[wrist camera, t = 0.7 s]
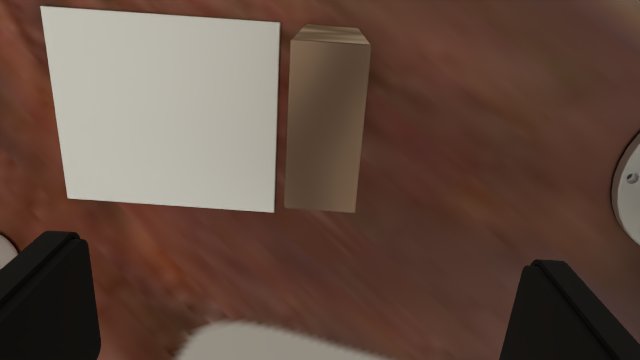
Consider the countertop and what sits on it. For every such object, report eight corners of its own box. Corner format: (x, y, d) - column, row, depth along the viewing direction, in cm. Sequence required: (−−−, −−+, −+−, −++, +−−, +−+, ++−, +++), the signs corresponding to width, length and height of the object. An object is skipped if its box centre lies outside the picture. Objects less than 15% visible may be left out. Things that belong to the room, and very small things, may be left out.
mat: (280, 22, 32) (279, 22, 32) (274, 209, 37) (273, 212, 37) (45, 6, 32) (40, 6, 32) (71, 195, 37) (67, 198, 37)
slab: (357, 27, 32) (371, 45, 21) (347, 140, 35) (354, 212, 23) (306, 23, 32) (290, 40, 21) (300, 137, 35) (283, 207, 23)
